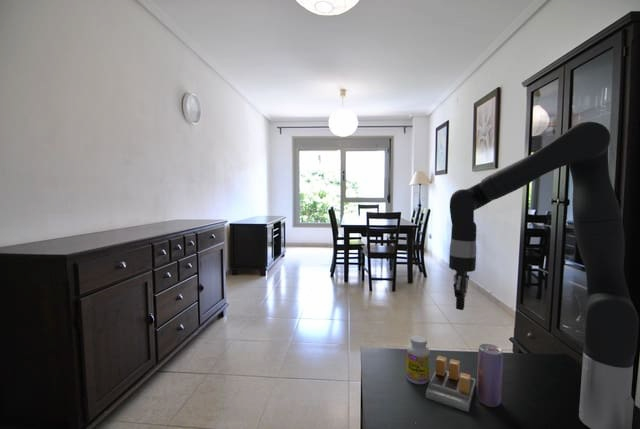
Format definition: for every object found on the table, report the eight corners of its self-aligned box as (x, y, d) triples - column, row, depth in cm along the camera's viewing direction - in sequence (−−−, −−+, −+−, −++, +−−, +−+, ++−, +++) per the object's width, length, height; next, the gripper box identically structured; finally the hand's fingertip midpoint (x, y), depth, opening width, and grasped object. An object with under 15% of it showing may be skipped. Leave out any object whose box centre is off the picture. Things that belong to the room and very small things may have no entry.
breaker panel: (475, 385, 97) (475, 374, 97) (468, 412, 85) (469, 400, 85) (436, 374, 103) (437, 364, 103) (425, 397, 91) (426, 386, 91)
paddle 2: (459, 375, 98) (459, 360, 97) (457, 380, 95) (458, 365, 95) (450, 373, 99) (451, 358, 99) (448, 377, 97) (449, 362, 96)
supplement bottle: (403, 381, 99) (405, 340, 98) (408, 370, 105) (409, 332, 104) (426, 387, 96) (428, 345, 95) (430, 376, 101) (431, 336, 100)
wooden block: (446, 371, 100) (446, 357, 99) (444, 376, 97) (444, 361, 97) (437, 369, 101) (438, 354, 101) (435, 374, 99) (436, 359, 98)
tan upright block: (470, 390, 90) (470, 374, 90) (468, 396, 88) (469, 379, 88) (460, 387, 92) (461, 371, 91) (458, 393, 89) (459, 376, 89)
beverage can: (503, 409, 86) (506, 355, 85) (479, 406, 87) (482, 352, 86) (496, 395, 92) (498, 344, 91) (473, 392, 93) (476, 342, 92)
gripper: (473, 259, 92) (470, 318, 94) (478, 252, 104) (475, 305, 105) (445, 256, 96) (443, 313, 98) (453, 249, 108) (451, 300, 109)
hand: (460, 308), depth 101 cm, fingers closed
